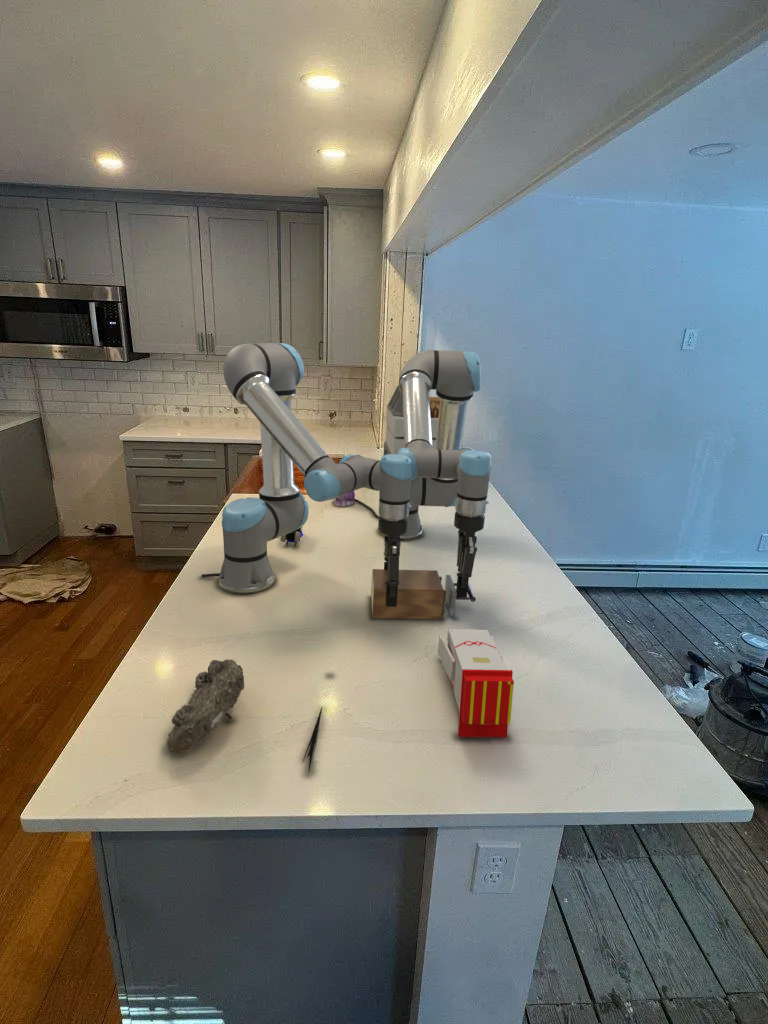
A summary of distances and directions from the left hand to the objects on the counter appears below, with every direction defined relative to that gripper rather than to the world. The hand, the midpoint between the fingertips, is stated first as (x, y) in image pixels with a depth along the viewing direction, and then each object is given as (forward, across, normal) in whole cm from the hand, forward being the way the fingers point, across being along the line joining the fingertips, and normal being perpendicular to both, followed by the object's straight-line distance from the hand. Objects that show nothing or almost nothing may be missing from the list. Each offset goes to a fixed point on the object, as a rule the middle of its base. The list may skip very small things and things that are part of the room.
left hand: (389, 594), depth 149 cm
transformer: (+4, +131, -23) cm, 133 cm away
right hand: (0, 0, -19) cm, 19 cm away
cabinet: (+4, 0, -4) cm, 6 cm away
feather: (+4, -43, +16) cm, 46 cm away
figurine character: (+4, +45, +29) cm, 54 cm away
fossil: (+4, -42, +36) cm, 56 cm away
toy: (+4, -35, -15) cm, 38 cm away
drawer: (+3, 0, -11) cm, 11 cm away
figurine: (+4, +84, +13) cm, 85 cm away
